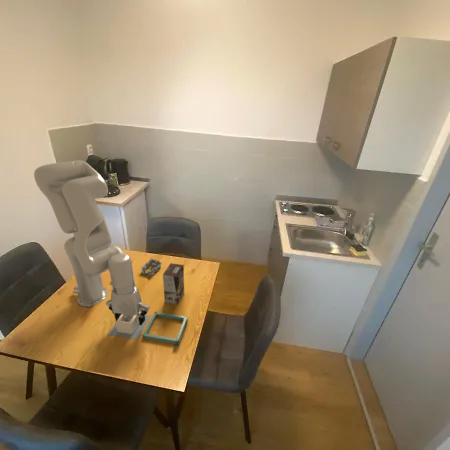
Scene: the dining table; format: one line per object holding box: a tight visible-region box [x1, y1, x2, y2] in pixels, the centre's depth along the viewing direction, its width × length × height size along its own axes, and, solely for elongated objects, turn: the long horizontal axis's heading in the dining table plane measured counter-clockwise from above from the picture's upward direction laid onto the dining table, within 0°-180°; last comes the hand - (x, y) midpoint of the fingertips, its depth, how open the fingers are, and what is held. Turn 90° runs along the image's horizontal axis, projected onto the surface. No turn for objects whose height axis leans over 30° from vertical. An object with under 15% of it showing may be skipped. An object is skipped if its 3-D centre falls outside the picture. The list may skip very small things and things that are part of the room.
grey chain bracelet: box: [140, 258, 163, 277], centre depth 133 cm, size 11×8×4 cm
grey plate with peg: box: [107, 314, 152, 341], centre depth 98 cm, size 12×12×8 cm
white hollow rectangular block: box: [115, 311, 141, 334], centre depth 98 cm, size 8×6×5 cm
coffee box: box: [162, 262, 185, 305], centre depth 112 cm, size 9×6×16 cm
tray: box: [141, 311, 188, 347], centre depth 99 cm, size 14×12×2 cm
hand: (130, 320), depth 98 cm, fingers open, 9 cm apart
